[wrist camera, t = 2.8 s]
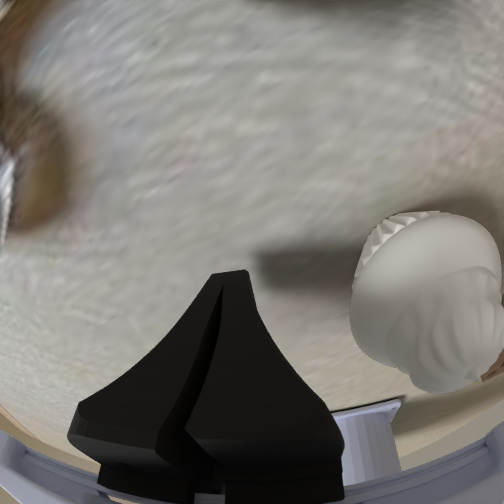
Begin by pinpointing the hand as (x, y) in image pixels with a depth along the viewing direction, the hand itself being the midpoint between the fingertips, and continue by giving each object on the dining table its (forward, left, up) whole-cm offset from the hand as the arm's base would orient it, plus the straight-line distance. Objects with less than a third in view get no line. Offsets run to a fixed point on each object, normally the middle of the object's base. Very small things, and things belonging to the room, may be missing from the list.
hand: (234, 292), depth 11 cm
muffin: (0, -7, -2) cm, 7 cm away
